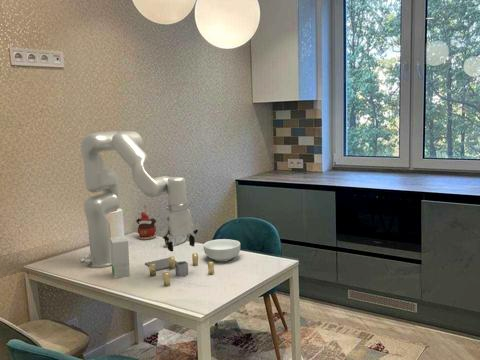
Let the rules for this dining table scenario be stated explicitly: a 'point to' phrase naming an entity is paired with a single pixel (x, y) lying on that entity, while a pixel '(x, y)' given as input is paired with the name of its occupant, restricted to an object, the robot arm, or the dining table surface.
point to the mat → (160, 264)
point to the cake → (146, 226)
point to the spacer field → (172, 266)
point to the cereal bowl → (222, 249)
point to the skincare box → (120, 256)
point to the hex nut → (181, 268)
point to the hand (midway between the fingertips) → (181, 248)
